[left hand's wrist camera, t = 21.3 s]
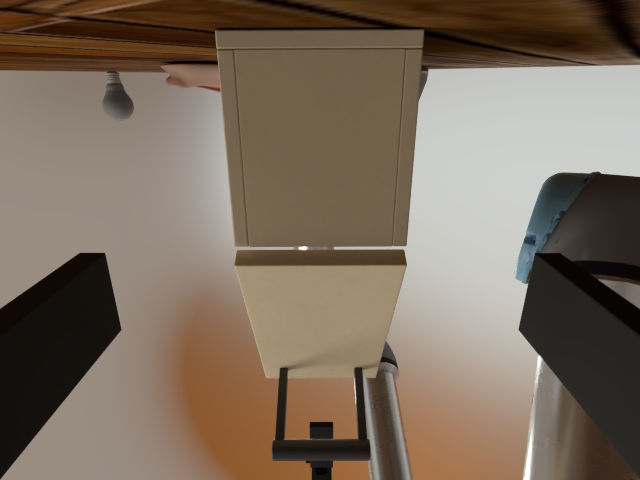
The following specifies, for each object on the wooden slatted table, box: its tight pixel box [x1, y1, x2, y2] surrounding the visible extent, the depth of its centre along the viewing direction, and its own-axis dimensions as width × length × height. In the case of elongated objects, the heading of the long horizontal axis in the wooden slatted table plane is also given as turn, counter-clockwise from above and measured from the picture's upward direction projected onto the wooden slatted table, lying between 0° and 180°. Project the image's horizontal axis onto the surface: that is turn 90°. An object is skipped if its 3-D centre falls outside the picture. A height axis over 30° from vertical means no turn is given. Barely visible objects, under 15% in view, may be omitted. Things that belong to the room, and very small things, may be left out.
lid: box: [234, 250, 407, 461], centre depth 28 cm, size 18×10×8 cm
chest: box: [215, 29, 424, 247], centre depth 29 cm, size 17×10×11 cm, turn 0°
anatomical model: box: [161, 63, 221, 92], centre depth 57 cm, size 13×4×12 cm
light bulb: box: [103, 71, 134, 120], centre depth 85 cm, size 6×6×10 cm
